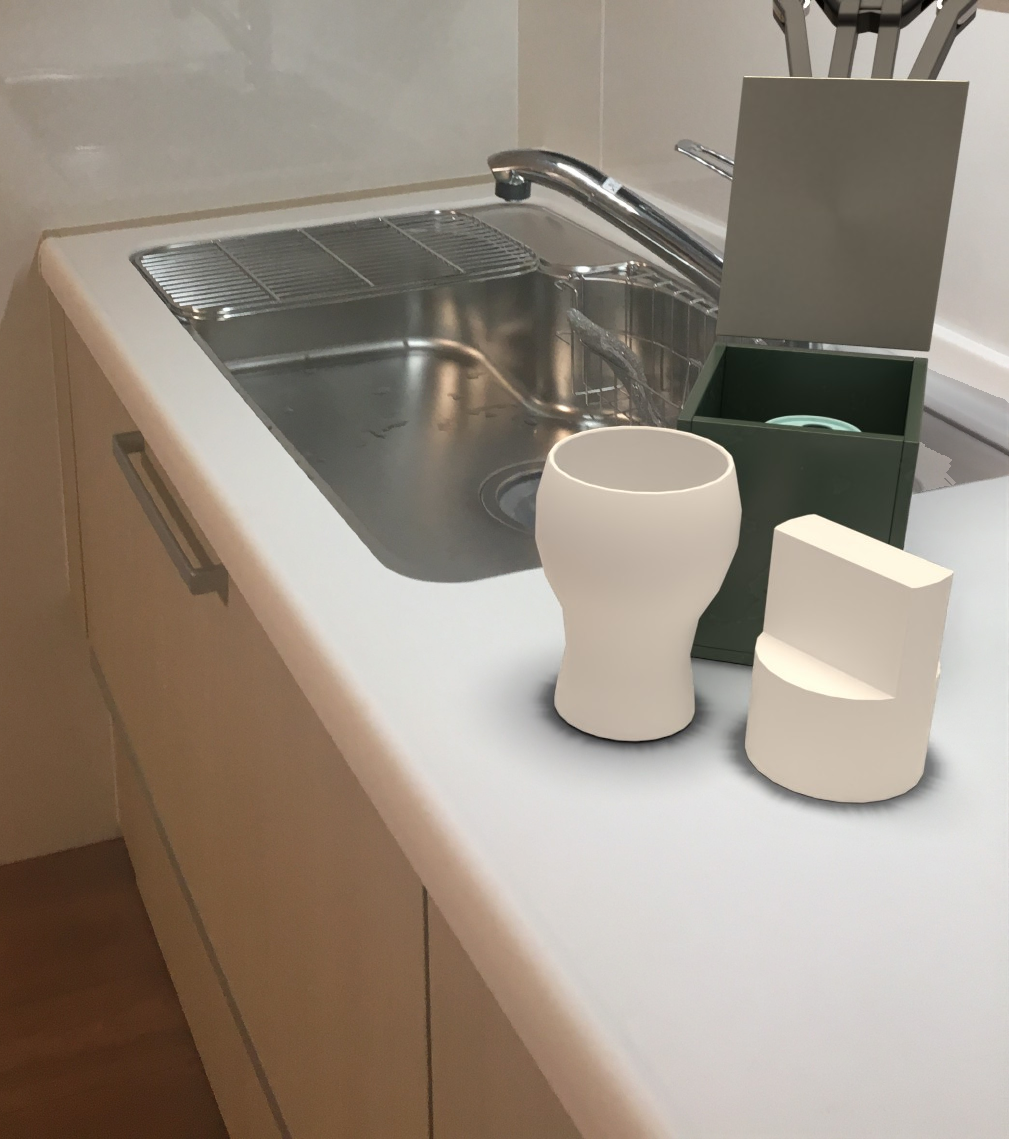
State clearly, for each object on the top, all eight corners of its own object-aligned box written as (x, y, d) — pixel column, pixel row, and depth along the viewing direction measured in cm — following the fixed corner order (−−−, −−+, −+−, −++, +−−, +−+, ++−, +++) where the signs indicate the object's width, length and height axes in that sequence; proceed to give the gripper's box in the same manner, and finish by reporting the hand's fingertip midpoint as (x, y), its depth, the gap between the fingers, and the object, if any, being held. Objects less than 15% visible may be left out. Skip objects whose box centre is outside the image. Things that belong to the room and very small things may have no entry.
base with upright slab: (961, 765, 81) (998, 557, 76) (843, 823, 77) (874, 607, 72) (823, 693, 88) (849, 498, 83) (708, 743, 84) (728, 541, 79)
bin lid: (969, 80, 89) (969, 81, 90) (743, 76, 94) (744, 76, 94) (929, 352, 94) (929, 350, 94) (714, 335, 98) (716, 334, 99)
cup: (569, 644, 94) (580, 410, 88) (744, 684, 89) (770, 440, 82) (498, 727, 86) (504, 476, 79) (686, 776, 81) (710, 513, 74)
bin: (882, 685, 89) (919, 442, 82) (658, 651, 93) (677, 419, 86) (895, 576, 101) (928, 357, 94) (696, 551, 105) (715, 340, 99)
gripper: (786, -131, 102) (727, 178, 96) (1002, -137, 98) (955, 187, 91) (786, -52, 109) (732, 242, 103) (988, -54, 104) (945, 254, 98)
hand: (837, 216), depth 97 cm, fingers closed
